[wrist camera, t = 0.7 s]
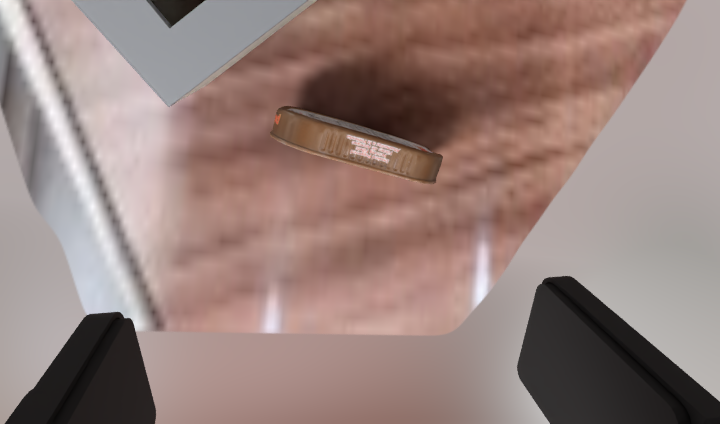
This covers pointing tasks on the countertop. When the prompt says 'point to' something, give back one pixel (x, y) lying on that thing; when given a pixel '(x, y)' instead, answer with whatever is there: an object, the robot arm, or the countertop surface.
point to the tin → (355, 145)
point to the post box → (187, 38)
